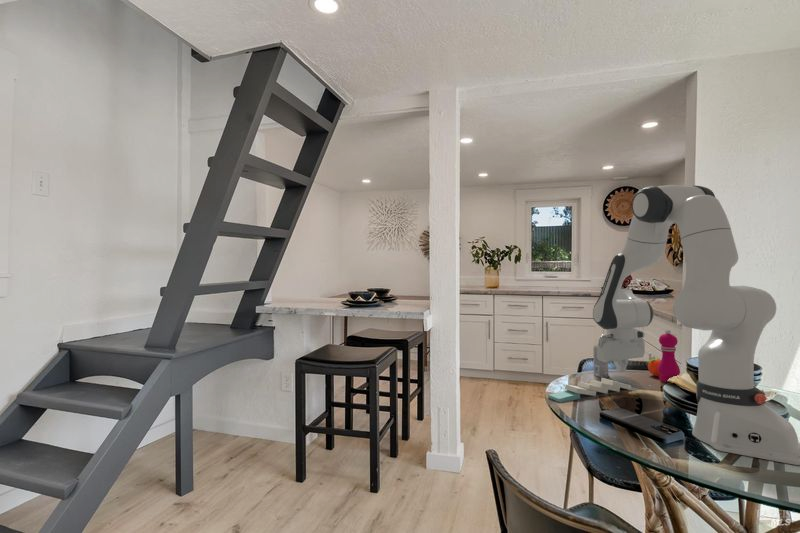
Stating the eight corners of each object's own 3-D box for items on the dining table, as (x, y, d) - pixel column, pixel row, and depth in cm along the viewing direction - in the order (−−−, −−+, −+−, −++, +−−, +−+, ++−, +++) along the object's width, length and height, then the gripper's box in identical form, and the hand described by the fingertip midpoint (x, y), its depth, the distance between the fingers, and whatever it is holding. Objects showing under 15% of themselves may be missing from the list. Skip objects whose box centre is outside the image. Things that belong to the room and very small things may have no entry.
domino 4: (607, 383, 150) (590, 379, 147) (620, 387, 145) (601, 382, 142) (607, 388, 150) (589, 383, 147) (619, 391, 145) (600, 387, 142)
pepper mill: (680, 385, 154) (679, 331, 154) (657, 383, 158) (656, 330, 158) (679, 381, 160) (678, 329, 160) (657, 378, 164) (656, 328, 164)
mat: (624, 386, 154) (624, 384, 154) (639, 390, 148) (639, 389, 148) (564, 396, 143) (564, 394, 143) (577, 401, 137) (577, 399, 137)
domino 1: (568, 389, 143) (548, 394, 140) (579, 393, 138) (559, 398, 135) (568, 394, 143) (548, 399, 140) (580, 398, 138) (559, 403, 135)
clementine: (651, 378, 164) (650, 360, 164) (641, 374, 171) (641, 356, 171) (672, 378, 164) (671, 360, 164) (661, 374, 171) (661, 356, 171)
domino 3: (596, 385, 148) (578, 381, 145) (608, 389, 143) (589, 384, 140) (595, 390, 148) (577, 385, 144) (607, 393, 143) (588, 389, 140)
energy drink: (605, 374, 171) (604, 345, 171) (610, 377, 166) (610, 347, 166) (591, 374, 172) (591, 345, 172) (596, 377, 166) (596, 347, 166)
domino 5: (618, 382, 152) (601, 377, 149) (631, 385, 148) (613, 380, 144) (618, 386, 152) (600, 382, 149) (630, 389, 147) (612, 385, 144)
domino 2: (584, 387, 146) (565, 384, 142) (596, 391, 141) (576, 388, 138) (584, 392, 146) (564, 389, 142) (595, 396, 141) (576, 393, 138)
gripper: (606, 336, 142) (607, 376, 142) (647, 332, 150) (648, 370, 150) (591, 334, 148) (592, 372, 148) (632, 330, 156) (632, 367, 156)
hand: (621, 371), depth 149 cm, fingers closed
